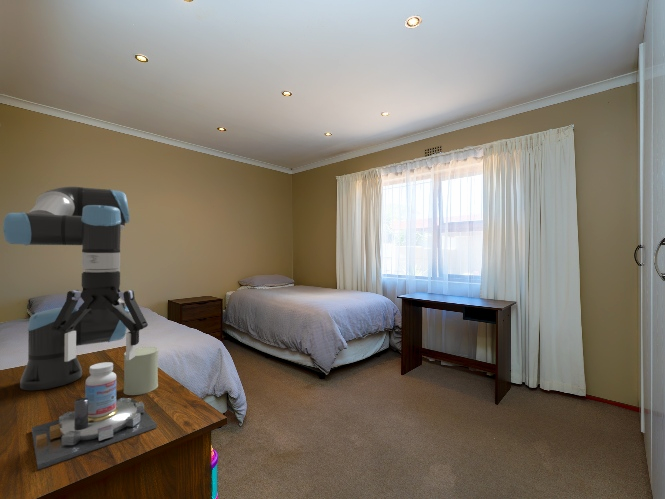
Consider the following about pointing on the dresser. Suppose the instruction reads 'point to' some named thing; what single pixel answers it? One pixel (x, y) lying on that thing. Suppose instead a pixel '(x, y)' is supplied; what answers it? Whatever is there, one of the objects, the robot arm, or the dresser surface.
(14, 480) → the dresser surface
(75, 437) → the sprocket
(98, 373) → the pill bottle
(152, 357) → the pale green cylinder
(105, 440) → the base plate
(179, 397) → the dresser surface
